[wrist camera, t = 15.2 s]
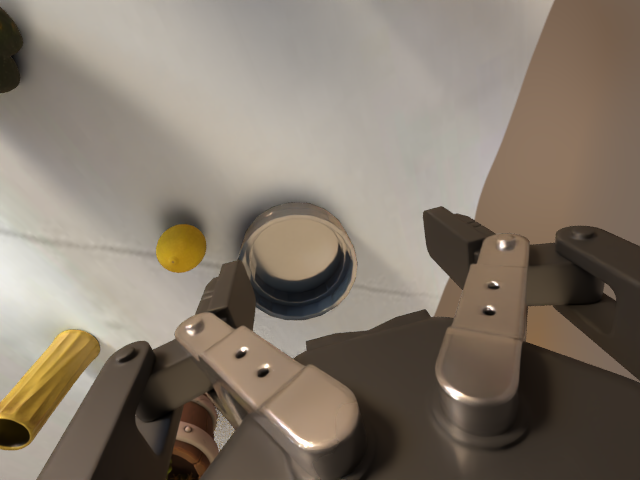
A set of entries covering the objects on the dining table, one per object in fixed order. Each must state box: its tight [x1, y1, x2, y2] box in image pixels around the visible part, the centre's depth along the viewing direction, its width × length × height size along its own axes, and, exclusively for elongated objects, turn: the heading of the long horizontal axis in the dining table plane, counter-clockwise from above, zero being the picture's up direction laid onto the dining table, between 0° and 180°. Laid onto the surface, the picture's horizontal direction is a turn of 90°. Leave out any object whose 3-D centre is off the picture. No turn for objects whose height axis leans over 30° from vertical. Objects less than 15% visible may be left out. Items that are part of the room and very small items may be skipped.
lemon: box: [156, 224, 206, 273], centre depth 41 cm, size 6×6×8 cm
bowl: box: [238, 202, 357, 320], centre depth 45 cm, size 15×15×6 cm
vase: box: [0, 330, 100, 450], centre depth 43 cm, size 6×6×14 cm
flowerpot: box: [166, 394, 219, 480], centre depth 47 cm, size 14×15×20 cm
